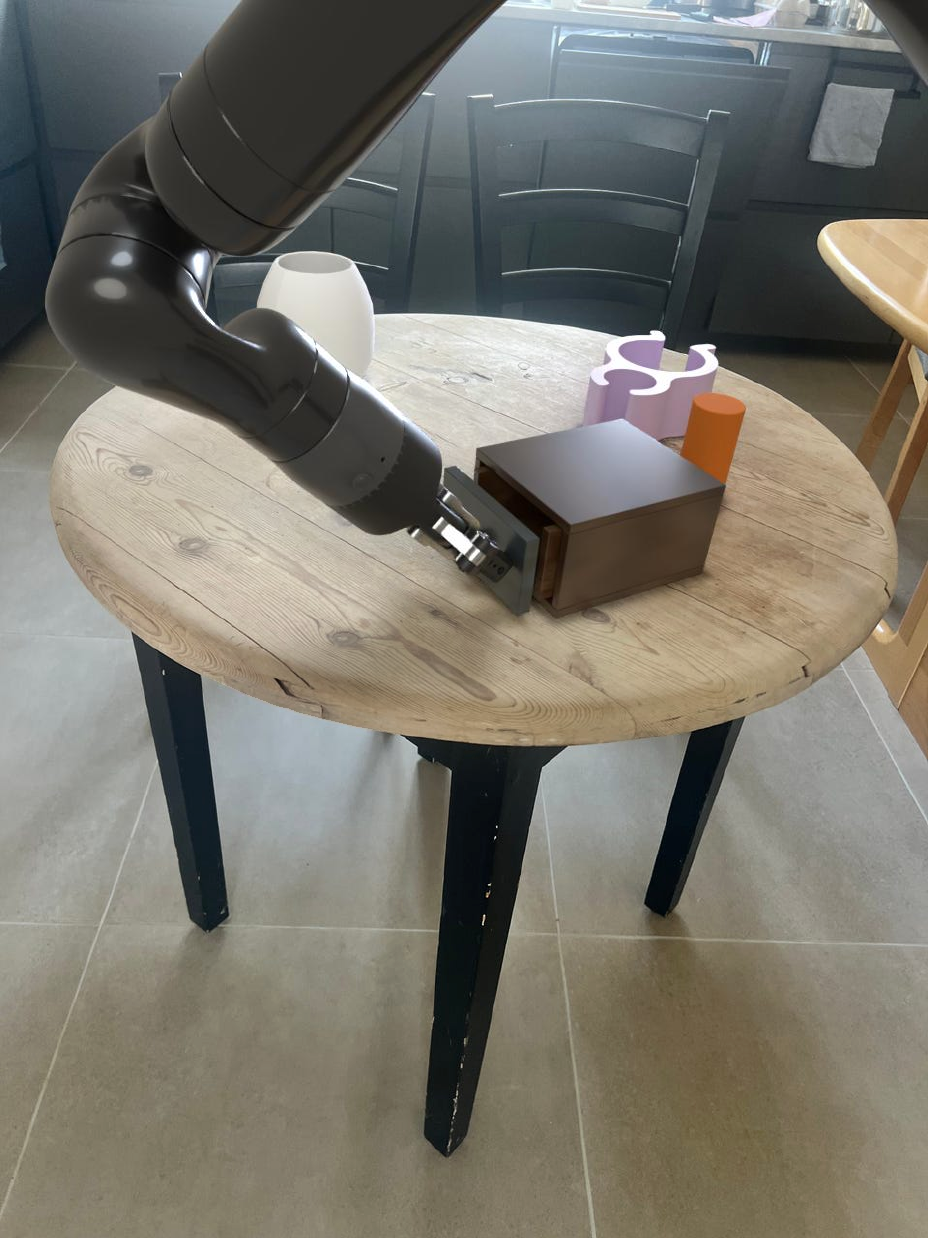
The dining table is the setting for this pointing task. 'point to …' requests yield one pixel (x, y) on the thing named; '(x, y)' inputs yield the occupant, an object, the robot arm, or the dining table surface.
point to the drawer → (511, 534)
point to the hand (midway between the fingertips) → (500, 568)
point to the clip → (648, 386)
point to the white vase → (324, 304)
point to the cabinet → (612, 509)
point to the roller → (713, 433)
